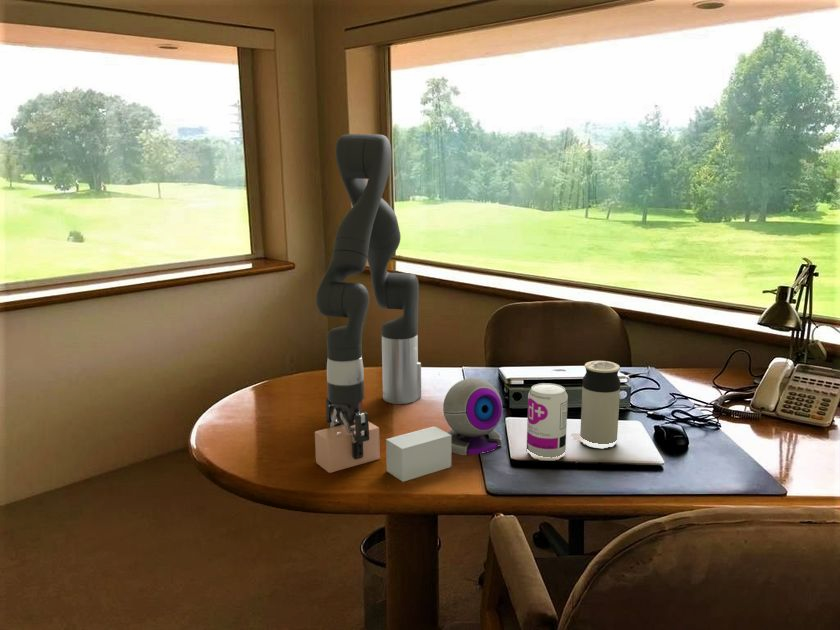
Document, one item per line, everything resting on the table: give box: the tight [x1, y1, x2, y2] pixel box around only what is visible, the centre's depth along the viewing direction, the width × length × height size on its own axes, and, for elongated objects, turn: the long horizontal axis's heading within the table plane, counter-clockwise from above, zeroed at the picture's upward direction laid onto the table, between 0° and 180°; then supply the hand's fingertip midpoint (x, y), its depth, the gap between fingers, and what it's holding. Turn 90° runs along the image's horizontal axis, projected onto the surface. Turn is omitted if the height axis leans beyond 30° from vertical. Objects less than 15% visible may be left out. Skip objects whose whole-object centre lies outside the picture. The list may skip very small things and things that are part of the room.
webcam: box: [442, 377, 503, 456], centre depth 162 cm, size 13×13×15 cm
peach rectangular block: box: [314, 420, 381, 474], centre depth 154 cm, size 12×6×7 cm, turn 124°
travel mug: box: [579, 360, 621, 444], centre depth 161 cm, size 8×8×18 cm
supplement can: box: [526, 382, 569, 458], centre depth 155 cm, size 8×8×15 cm
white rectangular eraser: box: [385, 426, 452, 483], centre depth 150 cm, size 12×6×7 cm, turn 124°
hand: (347, 451), depth 155 cm, fingers open, 8 cm apart
